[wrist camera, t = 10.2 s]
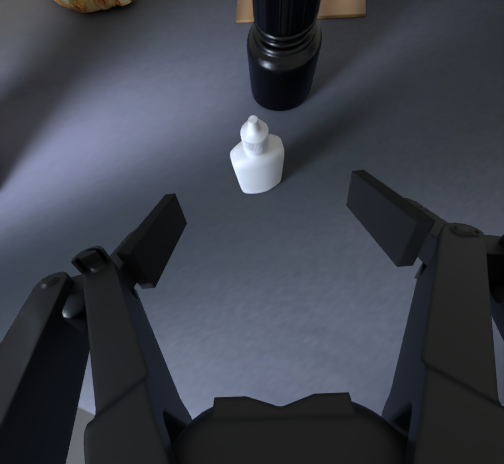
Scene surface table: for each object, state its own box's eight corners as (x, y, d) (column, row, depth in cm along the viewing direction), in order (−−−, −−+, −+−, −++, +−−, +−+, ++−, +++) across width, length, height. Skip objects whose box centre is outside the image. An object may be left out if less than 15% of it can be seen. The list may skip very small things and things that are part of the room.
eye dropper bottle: (244, 163, 28) (225, 90, 16) (283, 170, 27) (293, 99, 15) (237, 192, 27) (212, 138, 15) (276, 199, 26) (282, 150, 15)
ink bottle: (317, 63, 29) (349, -74, 17) (310, 115, 28) (340, 7, 16) (253, 60, 30) (243, -70, 18) (244, 111, 29) (226, 6, 17)
